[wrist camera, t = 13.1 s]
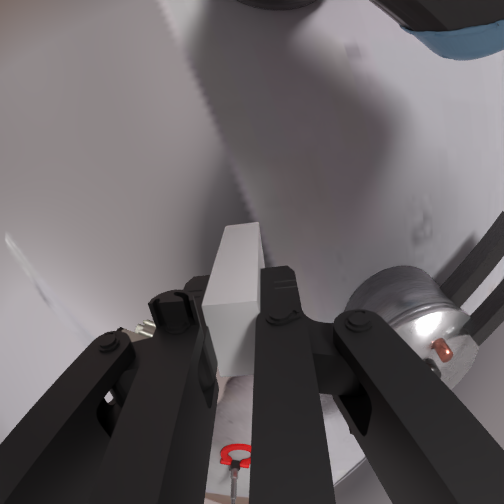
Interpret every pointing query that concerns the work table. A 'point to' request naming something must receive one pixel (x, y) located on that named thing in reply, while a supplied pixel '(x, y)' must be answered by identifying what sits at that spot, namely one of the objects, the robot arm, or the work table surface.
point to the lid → (451, 335)
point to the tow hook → (234, 465)
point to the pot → (429, 282)
